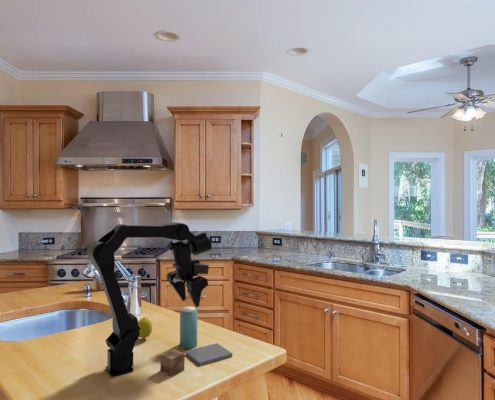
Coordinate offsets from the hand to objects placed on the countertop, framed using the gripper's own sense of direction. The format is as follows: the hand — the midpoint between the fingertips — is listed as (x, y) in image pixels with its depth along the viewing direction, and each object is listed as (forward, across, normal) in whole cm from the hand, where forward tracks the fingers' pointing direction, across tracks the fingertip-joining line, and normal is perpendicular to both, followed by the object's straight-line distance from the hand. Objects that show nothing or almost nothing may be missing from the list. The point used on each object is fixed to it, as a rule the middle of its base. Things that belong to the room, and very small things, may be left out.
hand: (190, 303), depth 121 cm
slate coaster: (+16, -8, 0) cm, 18 cm away
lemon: (+14, +18, +12) cm, 26 cm away
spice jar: (+16, +4, +2) cm, 16 cm away
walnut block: (+13, -10, +14) cm, 22 cm away
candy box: (+16, +102, +3) cm, 103 cm away
